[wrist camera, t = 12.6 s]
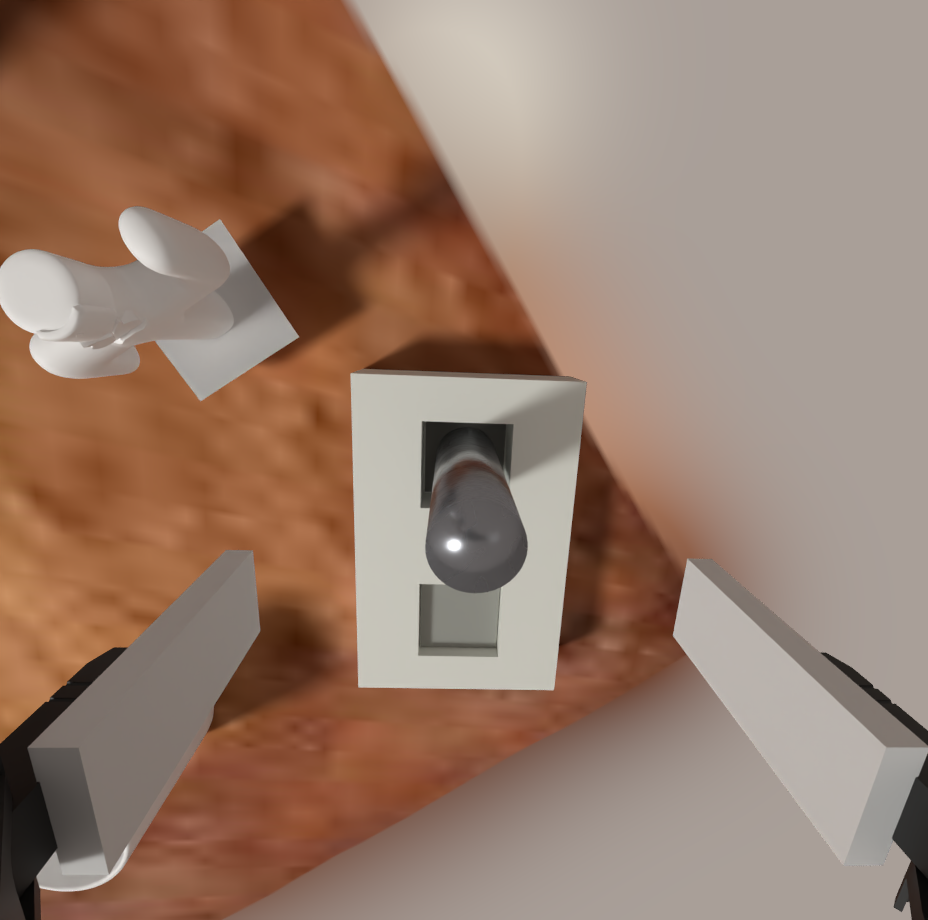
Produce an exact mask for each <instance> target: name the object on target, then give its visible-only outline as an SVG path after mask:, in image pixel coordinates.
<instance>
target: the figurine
mask: <svg viewBox="0 0 928 920" xmlns="http://www.w3.org/2000/svg"><path fill="white" fill-rule="evenodd" d="M119 230H120V233H121V236H122V239H123V241H124V243H125V244H126V246H127V247H128V249H129V250H130V251H131V253H132V254H133V255H134V256H135V257H136V258H137V259H138V260H136V261H135V262H133V263H130V264H127V265H123V266H117V267H98V266H93V265H88V264H85V263H83V262H79V261H76V260H73V259H69V258H66V257H63V256H59V255H56V254H53V253H50V252H46V251H42V250H36V249H29V250H22V251H19V252H17V253H15V254H13V255H11V256H10V257H9V258H8V259H7V260H6V261H5V262H4V263H3V265H2V266H1V268H0V304H1V306H2V308H3V310H4V312H5V313H6V315H7V316H8V317H9V318H10V319H11V320H12V321H13V322H14V323H15V324H16V325H18V326H19V327H21V328H22V329H24V330H27V331H29V332H31V333H35V334H34V335H33V337H32V338H31V340H30V346H29V347H30V352H31V355H32V357H33V358H34V360H35V361H36V362H37V363H38V364H39V365H40V366H41V367H42V368H43V369H45V370H47V371H48V372H50V373H52V374H55V375H58V376H61V377H66V378H76V379H83V378H95V377H104V376H112V375H121V374H128V373H131V372H133V371H135V370H136V369H137V368H138V367H139V363H140V358H139V354H138V352H137V350H136V348H135V347H134V345H138V344H141V343H145V342H150V341H155V342H156V343H157V344H158V346H159V347H160V348H161V350H162V351H163V352H164V353H165V355H166V356H167V357H168V359H169V360H170V361H171V363H172V364H173V365H174V367H175V368H176V369H177V371H178V372H179V373H180V375H181V376H182V377H183V379H184V380H185V381H186V383H187V384H188V385H189V387H190V388H191V389H192V391H193V392H194V393H195V394H196V396H197V397H198V398H199V400H200V401H202V400H203V399H205V398H206V397H208V396H209V395H211V394H212V393H214V392H215V391H217V390H218V389H220V388H222V387H223V386H225V385H226V384H228V383H229V382H231V381H232V380H234V379H235V378H237V377H239V376H240V375H242V374H243V373H245V372H246V371H248V370H249V369H251V368H252V367H254V366H255V365H257V364H259V363H260V362H262V361H263V360H265V359H266V358H268V357H269V356H271V355H272V354H274V353H275V352H277V351H279V350H280V349H282V348H283V347H285V346H286V345H288V344H289V343H291V342H292V341H294V340H295V339H297V338H299V336H298V334H297V333H296V331H295V330H294V329H293V327H292V326H291V324H290V323H289V321H288V320H287V318H286V317H285V315H284V314H283V312H282V311H281V309H280V308H279V306H278V305H277V303H276V302H275V300H274V299H273V297H272V296H271V294H270V293H269V291H268V290H267V288H266V287H265V285H264V284H263V282H262V281H261V279H260V278H259V276H258V275H257V273H256V272H255V270H254V269H253V267H252V266H251V264H250V263H249V262H248V260H247V259H246V257H245V256H244V254H243V253H242V251H241V250H240V248H239V247H238V245H237V244H236V242H235V241H234V239H233V238H232V236H231V235H230V233H229V232H228V230H227V229H226V227H225V226H224V224H223V223H222V221H221V220H220V219H219V220H218V221H216V222H215V223H213V224H212V225H211V226H209V227H208V228H206V229H205V230H204V231H202V232H201V231H199V230H198V229H196V228H194V227H192V226H189V225H187V224H185V223H182V222H180V221H178V220H175V219H173V218H171V217H168V216H166V215H164V214H161V213H159V212H156V211H154V210H151V209H148V208H145V207H138V206H135V207H129V208H127V209H126V210H125V211H124V212H123V213H122V214H121V216H120V218H119Z"/></svg>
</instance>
